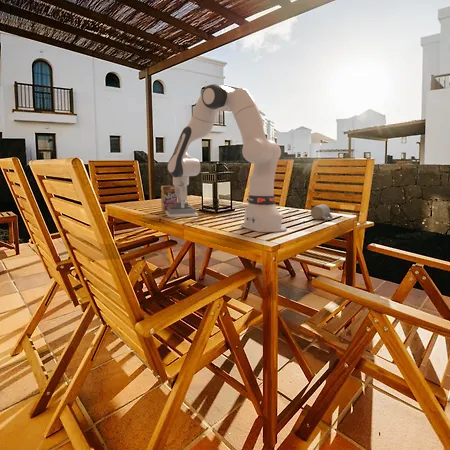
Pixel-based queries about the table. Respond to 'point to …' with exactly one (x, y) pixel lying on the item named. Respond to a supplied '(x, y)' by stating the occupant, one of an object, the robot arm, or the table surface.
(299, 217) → the table surface
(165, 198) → the candy box
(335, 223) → the table surface
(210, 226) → the table surface
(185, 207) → the servo
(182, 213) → the plate
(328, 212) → the ceramic mug
